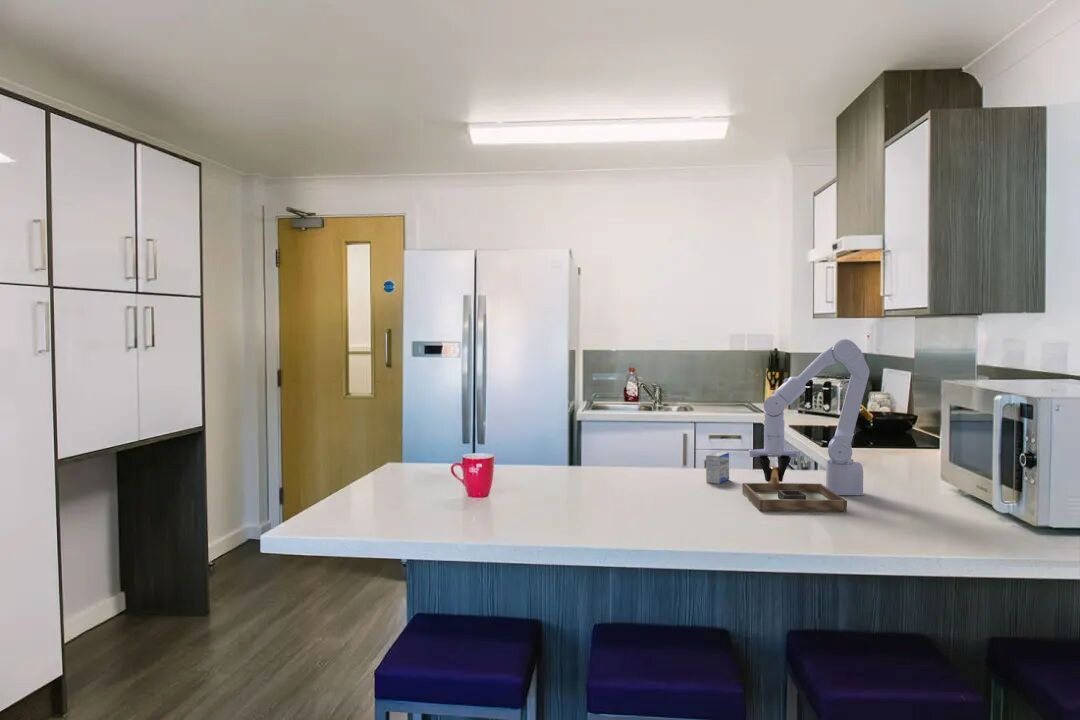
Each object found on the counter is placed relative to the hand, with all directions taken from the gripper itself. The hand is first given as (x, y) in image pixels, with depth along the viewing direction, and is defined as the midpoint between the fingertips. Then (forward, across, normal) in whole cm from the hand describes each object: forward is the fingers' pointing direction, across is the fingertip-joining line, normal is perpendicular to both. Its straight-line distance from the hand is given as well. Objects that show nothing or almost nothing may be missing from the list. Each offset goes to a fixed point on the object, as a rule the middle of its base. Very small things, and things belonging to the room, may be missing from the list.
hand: (773, 480), depth 207 cm
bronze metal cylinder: (+2, 0, 0) cm, 2 cm away
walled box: (+2, 0, +18) cm, 18 cm away
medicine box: (+2, +15, -8) cm, 17 cm away
